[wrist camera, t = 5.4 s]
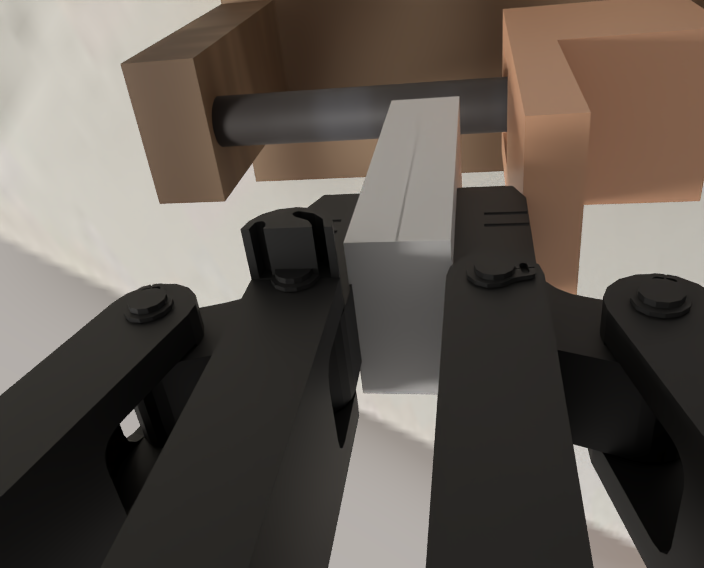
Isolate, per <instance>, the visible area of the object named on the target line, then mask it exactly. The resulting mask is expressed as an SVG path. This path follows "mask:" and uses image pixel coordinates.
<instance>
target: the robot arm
mask: <svg viewBox="0 0 704 568" xmlns="http://www.w3.org/2000/svg"><path fill="white" fill-rule="evenodd" d="M241 233H242V238H243V242H244V247H245V252H246V256H247V261H248V265H249V270H250V274H251V279H252V280H251V281H250V283H249V285H248V287H247V289H246V291H245V293H244V295H243V297H242V299H239V300H235V301H231V302H227V303H222V304H217V305H212V306H207V307H202V308H199V306H198V302H197V299H196V295H195V294H194V293H193V292H192V291H191V290H190V289H189V288H188V287H185V286H181V285H178V284H153V285H152V286H151V285H148V286H144V287H141V288H139V289H138V290H135V291H133V292H130V293H127V294H126V295H124V296H122V297H121V298H119V299H118V300H116V301H115V302H113V303H112V304H111V305H109V306H108V307H107V308H106V309H105V310H103V311H102V312H101V313H100V314H99V315H97V316H96V317H95V318H94V319H92V320H91V321H90V322H89V323H88V324H86V325H85V326H84V327H83V328H82V329H80V330H79V331H78V332H77V333H76V334H75V335H73V336H72V337H71V338H70V339H68V340H67V341H66V342H65V343H63V344H62V345H61V346H60V347H59V348H58V349H56V350H55V351H54V352H53V353H51V354H50V355H49V356H48V357H46V358H45V359H44V360H43V361H42V362H40V363H39V364H38V365H37V366H36V367H34V368H33V369H32V370H31V371H30V372H28V373H27V374H26V375H25V376H24V377H22V378H21V379H20V380H19V381H17V382H16V383H15V384H14V385H13V386H11V387H10V388H9V389H8V390H7V391H5V392H4V393H3V394H2V395H1V396H0V568H328V564H329V560H330V555H331V551H332V545H333V541H334V536H335V531H336V525H337V521H338V516H339V511H340V506H341V501H342V496H343V492H344V487H345V482H346V477H347V472H348V467H349V462H350V457H351V452H352V447H353V442H354V437H355V432H356V428H357V423H358V418H359V411H358V401H357V394H356V386H357V381H358V377H359V372H361V380H362V387H363V393H382V394H438V399H437V414H436V428H435V443H434V457H433V472H432V486H431V500H430V501H431V502H430V515H429V530H428V544H427V558H426V568H594V567H593V561H592V557H591V556H592V555H591V549H590V543H589V537H588V531H587V525H586V519H585V513H584V507H583V501H582V495H581V490H580V484H579V478H578V472H577V466H576V460H575V454H574V448H573V444H575V445H578V446H582V447H586V448H588V451H589V455H590V459H591V463H592V465H593V467H594V468H595V470H596V472H597V474H598V476H599V478H600V480H601V482H602V484H603V485H604V487H605V489H606V491H607V493H608V495H609V497H610V499H611V501H612V502H613V504H614V506H615V508H616V510H617V512H618V514H619V516H620V518H621V520H622V521H623V523H624V525H625V527H626V529H627V531H628V533H629V535H630V537H631V538H632V540H633V542H634V544H635V546H636V548H637V550H638V552H639V554H640V555H641V557H642V559H643V561H644V563H645V565H646V567H647V568H704V288H703V287H702V286H701V285H699V284H697V283H694V282H691V281H688V280H685V279H683V278H680V277H677V276H672V275H664V274H656V273H654V274H639V275H633V276H629V277H625V278H622V279H619V280H617V281H616V282H614V283H613V284H611V285H610V286H608V287H607V289H606V291H605V294H604V296H603V300H600V299H595V298H589V297H583V296H579V295H575V294H571V293H568V292H565V291H563V290H560V289H558V288H556V287H554V286H552V285H551V284H549V283H548V282H546V280H545V274H544V272H543V271H542V269H541V267H540V265H539V264H537V263H536V258H535V252H534V245H533V239H532V232H531V226H530V219H529V214H528V206H527V200H526V197H525V196H524V195H523V194H522V193H520V192H519V191H518V190H517V189H516V188H515V187H513V186H491V187H466V188H462V177H461V140H460V104H459V96H455V97H439V98H423V99H408V100H393V101H391V104H390V107H389V110H388V113H387V116H386V119H385V122H384V124H383V127H382V130H381V133H380V136H379V139H378V142H377V145H376V148H375V151H374V154H373V157H372V160H371V163H370V166H369V169H368V172H367V175H366V178H365V181H364V184H363V187H362V189H361V192H360V194H340V195H324V196H322V197H321V198H320V199H318V200H317V201H316V202H314V203H313V204H312V205H310V206H309V207H308V208H300V207H295V208H286V209H279V210H275V211H272V212H268V213H265V214H262V215H260V216H258V217H256V218H254V219H252V220H250V221H249V222H248V223H247V224H246V225H245V226H244V227H242V228H241ZM133 409H135V412H136V415H137V418H138V420H139V423H140V427H139V428H138V429H137V430H136V431H135V432H134V433H133V434H132V435H130V436H129V437H128V438H126V437H125V436H124V434H123V431H122V429H121V426H120V423H121V422H122V421H123V419H125V417H126V416H127V415H128V414H129V413H130V412H131V411H132V410H133Z"/></svg>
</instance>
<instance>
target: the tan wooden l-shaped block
mask: <svg viewBox="0 0 704 568" xmlns="http://www.w3.org/2000/svg"><path fill="white" fill-rule="evenodd" d="M502 77H508V98H507V132H502V158H503V167H504V177H505V186H513V187H515V188H516V189H517V190H518V191H519V192H520V193H522V194H523V195H524V196H525V197H526V200H527V206H528V214H529V219H530V226H531V232H532V239H533V245H534V252H535V258H536V263H537V264H539V265H540V267H541V269H542V271H543V272H544V274H545V280H546V282H548V283H549V284H551V285H552V286H554V287H556V288H558V289H560V290H563V291H565V292H568V293H571V294H575V295H577V283H578V271H579V258H580V245H581V232H582V220H583V207H584V205H592V204H622V203H653V202H683V201H700V198H701V192H702V187H703V181H704V9H703V8H702V7H700V6H699V5H697V4H696V3H694V2H693V1H691V0H603V1H592V2H580V3H568V4H556V5H545V6H533V7H521V8H510V9H503V49H502Z"/></svg>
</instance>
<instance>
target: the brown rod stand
mask: <svg viewBox="0 0 704 568" xmlns="http://www.w3.org/2000/svg"><path fill="white" fill-rule="evenodd" d="M592 1H603V0H221V5H219V6H218V7H216V8H214V9H213V10H211V11H209V12H207V13H206V14H204V15H202V16H201V17H199V18H197V19H196V20H194V21H192V22H191V23H189V24H187V25H185V26H184V27H182V28H180V29H179V30H177V31H175V32H174V33H172V34H170V35H169V36H167V37H165V38H163V39H162V40H160V41H158V42H157V43H155V44H153V45H152V46H150V47H148V48H147V49H145V50H143V51H142V52H140V53H138V54H136V55H135V56H133V57H131V58H130V59H128V60H126V61H125V62H123V63H121V67H122V71H123V74H124V78H125V82H126V85H127V89H128V92H129V96H130V99H131V103H132V106H133V110H134V114H135V117H136V121H137V124H138V128H139V131H140V135H141V138H142V142H143V146H144V149H145V153H146V156H147V160H148V163H149V167H150V170H151V174H152V178H153V181H154V185H155V188H156V192H157V195H158V199H159V202H160V204H166V203H193V202H219V201H226V199H227V198H228V196H229V195H230V194H231V192H232V191H233V189H234V188H235V187H236V185H237V184H238V182H239V181H240V180H241V178H242V177H243V175H244V174H245V173H246V171H247V170H248V168H249V167H250V166H251V164H252V163H253V167H254V172H255V177H256V182H257V181H281V180H304V179H328V178H351V177H366V175H367V172H368V169H369V166H370V163H371V160H372V157H373V154H374V151H375V148H376V145H377V142H378V139H379V136H380V133H381V130H382V127H383V124H384V122H385V119H386V116H387V113H388V110H389V107H390V104H391V101H393V100H408V99H423V98H439V97H455V96H459V104H460V140H461V173H469V172H492V171H504V167H503V158H502V132H507V98H508V77H502V49H503V9H510V8H521V7H533V6H545V5H556V4H568V3H580V2H592ZM691 1H693V2H694V3H696V4H697V5H699V6H700V7H702V8H703V9H704V0H691Z"/></svg>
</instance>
